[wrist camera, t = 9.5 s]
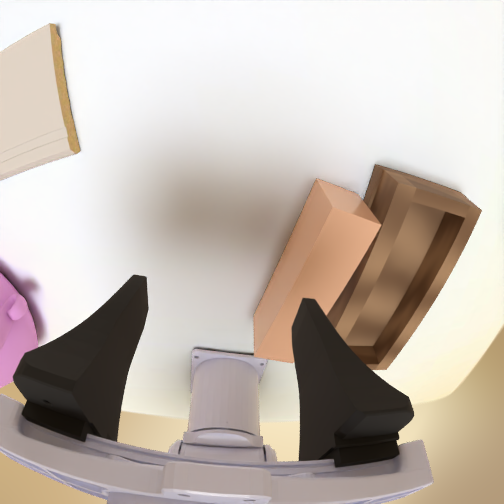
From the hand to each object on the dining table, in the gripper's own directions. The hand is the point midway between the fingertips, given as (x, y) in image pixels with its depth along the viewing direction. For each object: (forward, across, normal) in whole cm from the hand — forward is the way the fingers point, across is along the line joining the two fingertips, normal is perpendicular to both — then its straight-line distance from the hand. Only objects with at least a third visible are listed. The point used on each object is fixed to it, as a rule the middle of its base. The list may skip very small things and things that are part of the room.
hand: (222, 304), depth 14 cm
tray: (+10, -14, +4) cm, 18 cm away
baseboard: (+9, +30, -11) cm, 33 cm away
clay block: (+10, -6, +4) cm, 12 cm away
